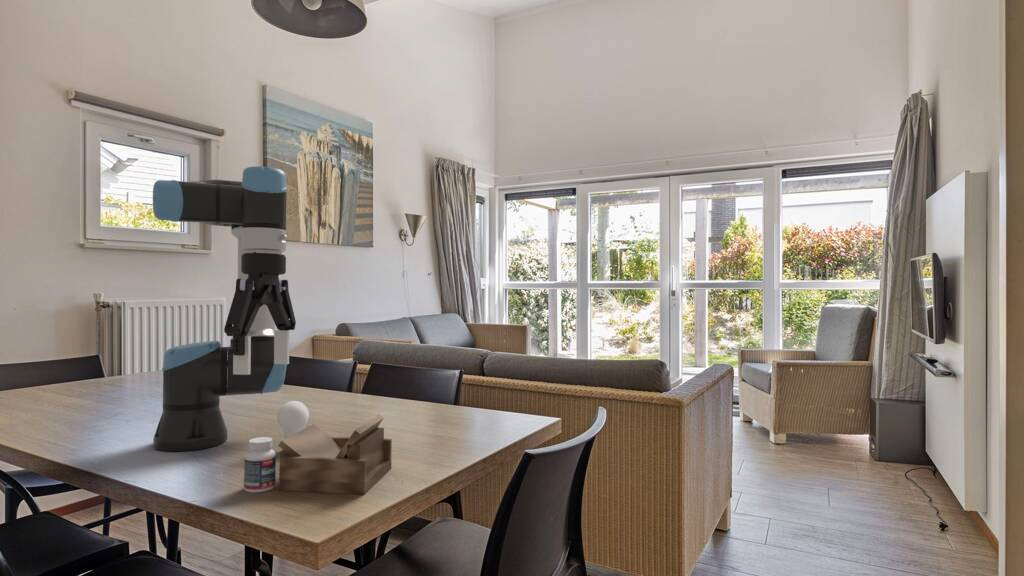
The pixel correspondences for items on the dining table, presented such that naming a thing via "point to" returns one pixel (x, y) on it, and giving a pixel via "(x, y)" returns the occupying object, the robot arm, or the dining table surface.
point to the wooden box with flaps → (335, 460)
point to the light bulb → (292, 417)
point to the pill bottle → (259, 466)
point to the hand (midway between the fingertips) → (262, 369)
